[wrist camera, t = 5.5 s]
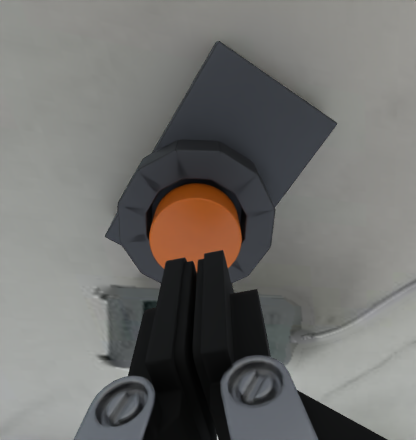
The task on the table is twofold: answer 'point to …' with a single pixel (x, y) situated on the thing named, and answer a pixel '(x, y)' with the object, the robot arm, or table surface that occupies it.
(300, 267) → the table surface
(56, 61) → the table surface
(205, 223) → the power button
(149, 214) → the button switch box
